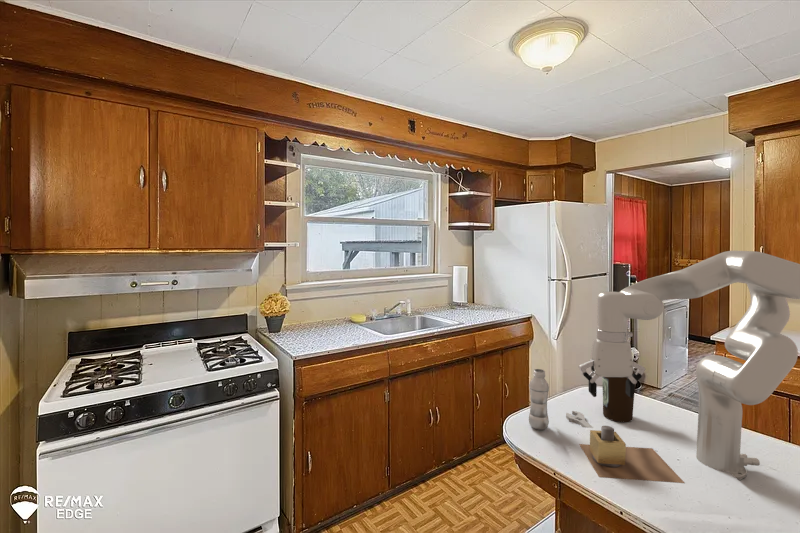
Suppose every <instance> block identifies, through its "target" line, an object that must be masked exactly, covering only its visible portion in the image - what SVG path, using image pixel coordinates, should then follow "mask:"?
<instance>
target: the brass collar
mask: <svg viewBox="0 0 800 533" xmlns="http://www.w3.org/2000/svg"><path fill="white" fill-rule="evenodd" d="M589 433H590V434H589V445H590V451H591V453H592V454H593V456H594V457H595V459H596V461H597V462H598V463H603V464H618V465H625V452H626V447H627V444H626V442H625V441H624V440H623V439H622V437H621V436H620V435H619V434H618V433H617V431H614V441H603V440H601V430H596V429H595V430H593V429H592V430H591V429H590V430H589Z"/></svg>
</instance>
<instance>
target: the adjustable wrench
mask: <svg viewBox="0 0 800 533" xmlns="http://www.w3.org/2000/svg"><path fill="white" fill-rule="evenodd" d="M565 418H566V419H567V420H568V422H570V423H574V424H576V425H577V424H578V425H579V426H580V425H581V427H582V428H585V429H586V428H589V429H594V426H593V425H591V424H590V423H589V422H587V421H586V418H585V414H583V413H582V412H580V411H577V410H572V411H571V413H569V412H566V413H565Z"/></svg>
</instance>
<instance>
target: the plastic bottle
mask: <svg viewBox="0 0 800 533" xmlns="http://www.w3.org/2000/svg"><path fill="white" fill-rule="evenodd" d="M532 375H533V378H532V379H531V380H530V381H529V384H528V387H529V396H530V409H529V415H528V424H529V426H530V427H531V428H532V429H535V430H539V431H544V430H547V428H548V427H549V422H550V420H549V415H548V414H549V413H548V397H549V390H550V386H549V383H548V381H547V380H546V371H545V370H544V369H540V368H536V369H535V368H534V369H533V374H532Z"/></svg>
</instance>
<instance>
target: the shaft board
mask: <svg viewBox="0 0 800 533" xmlns="http://www.w3.org/2000/svg"><path fill="white" fill-rule="evenodd" d="M600 427H601V430H600V431H601V440H603V441H614V432H615V428H614V427H612V426H610V425H602V426H600ZM578 445H579V446H580V448H581V449H582V452H583V453H584V455H585V456H586V458H587V460H588V461H589V463H590V465H591V466H592V468H593V469H594V471H595V473H596V474H597V476H598V477H599V478H604V479H605V478H606V479H607V478H608V479H621V480H633V481H634V480H635V481H648V482H649V481H650V482H665V483H677V484H685V481H683V479H682V478H681V477H680V476H679V475H678V474H677V473H676V471H675V470H673V469H672V468H671V466H670V465H669V464H668V463H667V462H666V461H665V460H664V459H663V457H661V456H660V455H659V454H658V453H657V452H656V450H655V449H654V448H652V447H651V448H650V447H637V446H636V447H635V446H634V447H631V446H626V452H625V465H618V464H603V463H598V462H597V461H596V459H595V457H594V456H593V454H592V453H591V451H590V444H586V443H585V444H583V443H579V444H578Z"/></svg>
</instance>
